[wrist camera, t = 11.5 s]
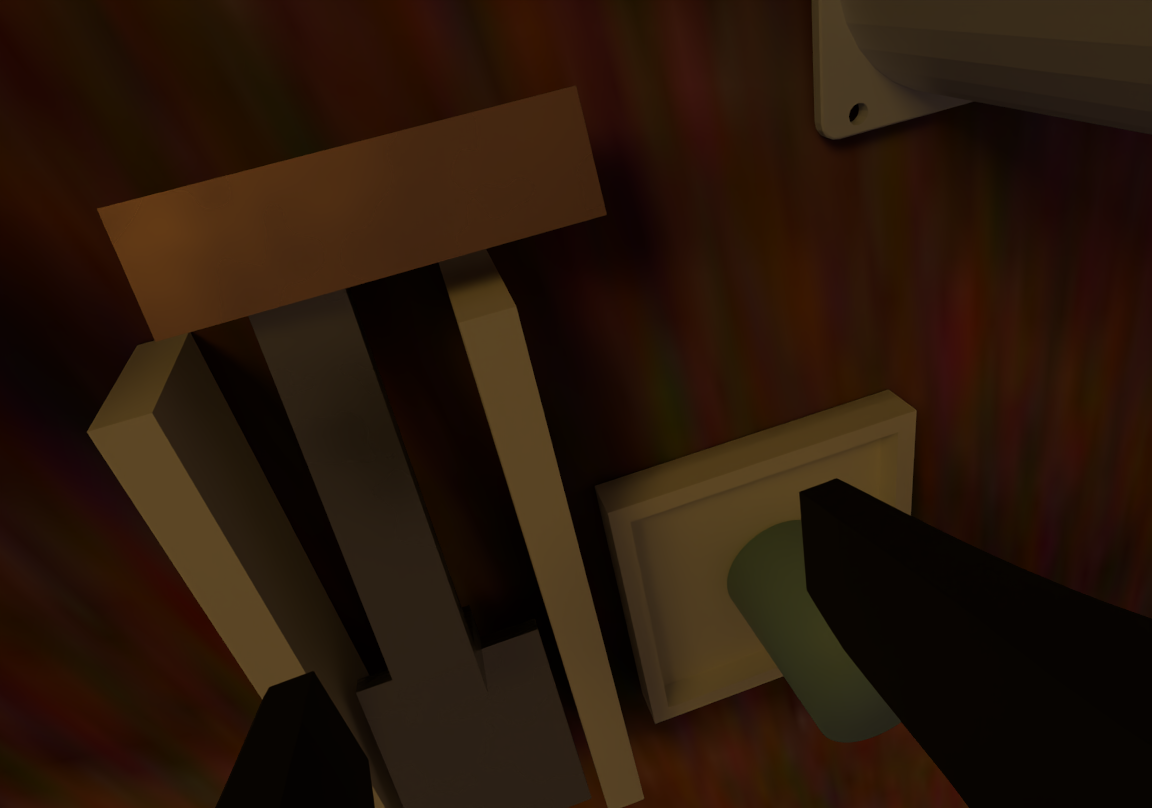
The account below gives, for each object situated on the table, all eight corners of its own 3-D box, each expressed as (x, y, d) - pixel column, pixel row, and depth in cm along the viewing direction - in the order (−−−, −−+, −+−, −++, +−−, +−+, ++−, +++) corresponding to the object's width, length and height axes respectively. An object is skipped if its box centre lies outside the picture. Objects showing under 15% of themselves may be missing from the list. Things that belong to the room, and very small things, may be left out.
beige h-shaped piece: (485, 247, 18) (515, 305, 15) (607, 699, 28) (644, 798, 24) (136, 345, 17) (86, 431, 14) (385, 780, 27) (391, 896, 23)
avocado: (794, 500, 25) (905, 619, 20) (849, 554, 27) (961, 673, 22) (705, 580, 25) (793, 714, 21) (766, 627, 27) (857, 758, 23)
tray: (888, 389, 24) (916, 410, 23) (882, 604, 29) (904, 630, 28) (594, 486, 23) (607, 513, 22) (642, 692, 28) (655, 723, 27)
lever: (543, 110, 18) (576, 85, 14) (702, 740, 24) (756, 840, 20) (163, 209, 17) (91, 210, 13) (426, 845, 23) (427, 971, 19)
